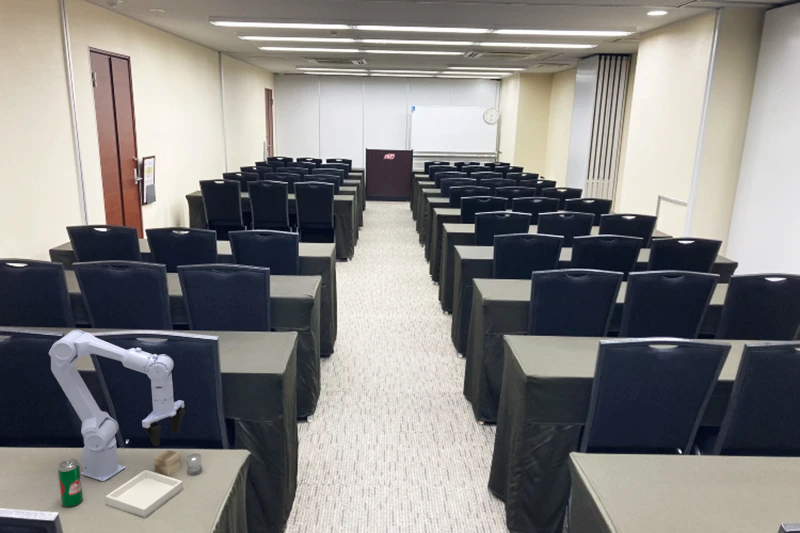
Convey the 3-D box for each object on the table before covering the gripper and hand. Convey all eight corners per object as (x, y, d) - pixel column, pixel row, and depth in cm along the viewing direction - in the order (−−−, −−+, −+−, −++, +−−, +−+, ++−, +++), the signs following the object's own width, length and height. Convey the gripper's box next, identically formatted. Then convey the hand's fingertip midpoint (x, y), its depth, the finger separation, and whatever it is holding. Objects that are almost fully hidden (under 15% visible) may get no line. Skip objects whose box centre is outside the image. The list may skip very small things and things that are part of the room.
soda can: (73, 509, 151) (69, 469, 148) (57, 506, 152) (52, 467, 149) (87, 498, 156) (83, 459, 153) (71, 495, 156) (67, 456, 154)
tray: (106, 504, 153) (105, 496, 153) (146, 477, 166) (145, 469, 165) (145, 518, 148) (144, 509, 148) (183, 488, 161) (182, 481, 160)
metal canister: (184, 473, 168) (183, 458, 167) (194, 467, 172) (193, 452, 171) (195, 477, 167) (194, 462, 165) (204, 470, 170) (203, 455, 169)
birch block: (155, 472, 168) (154, 457, 167) (167, 464, 173) (166, 449, 172) (168, 476, 167) (167, 461, 165) (180, 467, 171) (179, 453, 170)
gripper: (154, 410, 156) (157, 453, 159) (191, 389, 170) (193, 430, 173) (135, 405, 159) (138, 448, 162) (172, 385, 172) (175, 425, 175)
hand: (165, 438), depth 167 cm, fingers open, 7 cm apart
